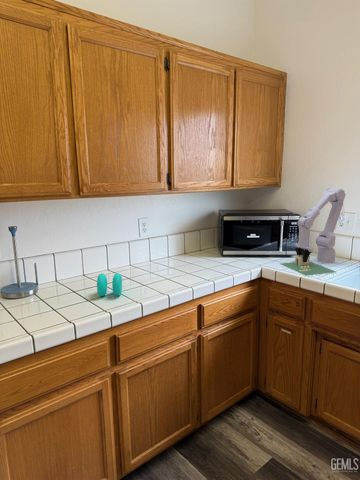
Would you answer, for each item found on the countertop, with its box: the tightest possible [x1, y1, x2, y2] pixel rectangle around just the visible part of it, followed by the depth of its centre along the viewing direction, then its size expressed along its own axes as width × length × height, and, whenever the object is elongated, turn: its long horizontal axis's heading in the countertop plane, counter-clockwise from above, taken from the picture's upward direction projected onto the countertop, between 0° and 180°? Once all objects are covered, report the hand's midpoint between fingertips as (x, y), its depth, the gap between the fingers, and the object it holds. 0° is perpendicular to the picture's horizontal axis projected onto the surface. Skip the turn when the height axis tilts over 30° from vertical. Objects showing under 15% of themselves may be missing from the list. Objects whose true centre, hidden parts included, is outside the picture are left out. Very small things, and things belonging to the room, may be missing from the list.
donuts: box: [96, 272, 123, 297], centre depth 149 cm, size 10×10×10 cm
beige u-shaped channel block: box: [294, 254, 311, 265], centre depth 196 cm, size 7×4×5 cm, turn 107°
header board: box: [279, 261, 337, 277], centre depth 190 cm, size 20×24×3 cm
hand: (302, 261), depth 196 cm, fingers closed on beige u-shaped channel block, 4 cm apart
